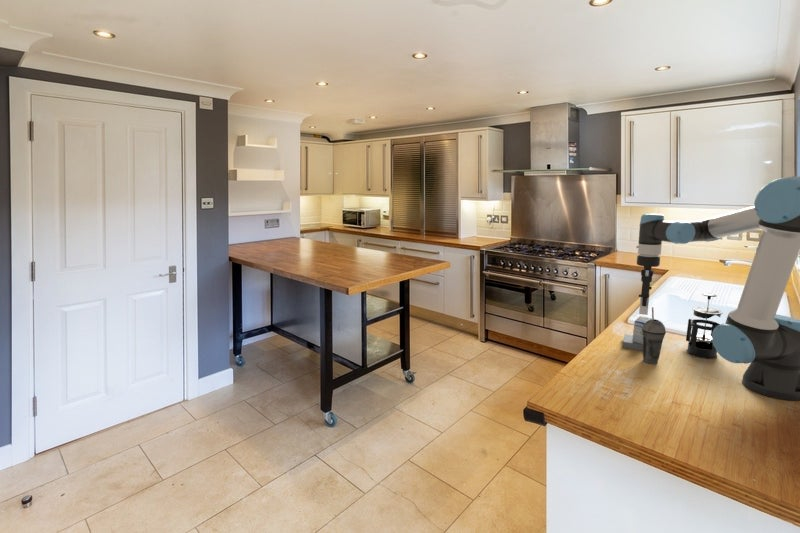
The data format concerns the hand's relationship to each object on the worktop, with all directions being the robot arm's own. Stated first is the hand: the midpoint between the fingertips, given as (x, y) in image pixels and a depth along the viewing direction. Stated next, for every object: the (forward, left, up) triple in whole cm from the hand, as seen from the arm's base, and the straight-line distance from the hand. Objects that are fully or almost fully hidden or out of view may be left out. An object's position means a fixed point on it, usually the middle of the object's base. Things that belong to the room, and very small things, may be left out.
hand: (643, 309), depth 165 cm
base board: (0, 0, -16) cm, 15 cm away
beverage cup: (-15, -4, -15) cm, 21 cm away
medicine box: (0, 0, -13) cm, 13 cm away
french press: (+3, -20, -15) cm, 25 cm away
